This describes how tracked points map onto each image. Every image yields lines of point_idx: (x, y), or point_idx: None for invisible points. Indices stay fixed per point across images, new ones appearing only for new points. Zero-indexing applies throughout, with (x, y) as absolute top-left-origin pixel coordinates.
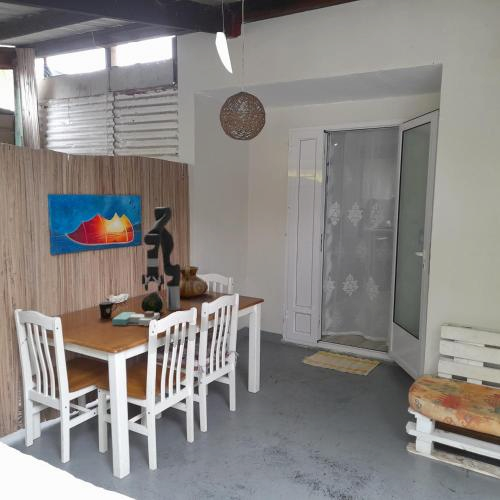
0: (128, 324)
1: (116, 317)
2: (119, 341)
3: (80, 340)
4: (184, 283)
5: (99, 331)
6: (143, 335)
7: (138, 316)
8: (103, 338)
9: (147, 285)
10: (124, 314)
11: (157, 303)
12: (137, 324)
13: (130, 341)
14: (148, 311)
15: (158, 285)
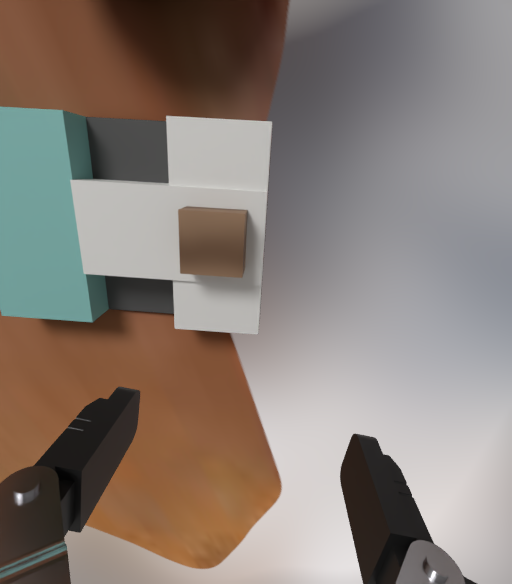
0: (121, 309)
1: (3, 278)
2: (192, 514)
3: None
4: None
5: (37, 408)
6: (265, 455)
7: (142, 257)
8: (112, 487)
9: (89, 485)
10: (8, 192)
11: None
12: (173, 307)
13: (235, 515)
14: (196, 220)
15: (372, 572)
